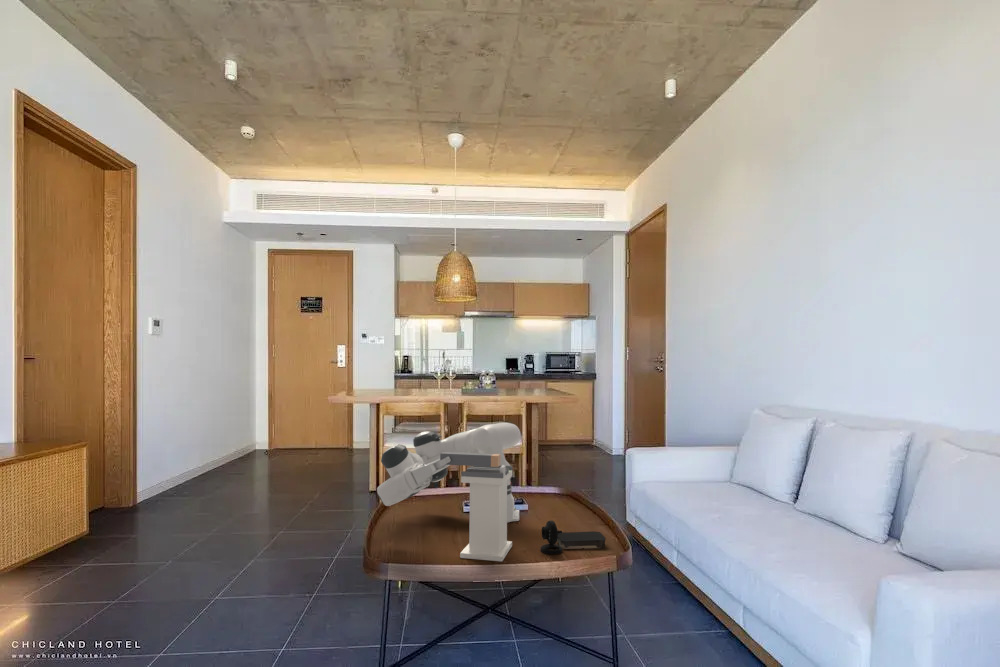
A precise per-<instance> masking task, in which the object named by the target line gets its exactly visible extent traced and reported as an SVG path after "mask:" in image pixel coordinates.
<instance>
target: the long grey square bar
mask: <svg viewBox="0 0 1000 667" xmlns="http://www.w3.org/2000/svg"><path fill="white" fill-rule="evenodd" d="M448 456H450V457H451V459H452V461H450V462H449V463H447V464H445V465H450V466H466V467H467V466H468V467H473V466H486V467H499V466H500V465H501V454H482V453H459V452H442V453H440V460H442V459H444V458H446V457H448Z"/></svg>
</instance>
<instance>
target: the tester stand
mask: <svg viewBox="0 0 1000 667" xmlns="http://www.w3.org/2000/svg"><path fill="white" fill-rule="evenodd" d="M460 475H461V476H460V481H461V482H460V483H462V484H465V483H466V484H469V531H468V532H469V534H468V535H469V536H468V537H469V539H468V540H469V543H468V544H466V546H465V547H464V548H463V550H461V552H460V554H459V557H460V559H468V560H469V559H471V560H481V561H492V562H503V561H504V559H505V558H506V556H507V555H508V553H509V551H510V550H511V548H512V547H513V541H510V540H508V522H507V480H508V479H509V478H510V479H511V478H512V476H513V465H510V466H505V465H500V466H499V467H486V466H468V467H467V468H466V471H465V470H462V471H461V474H460Z"/></svg>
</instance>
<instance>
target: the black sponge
mask: <svg viewBox="0 0 1000 667" xmlns="http://www.w3.org/2000/svg"><path fill="white" fill-rule="evenodd" d="M606 539H607V538H606V536H604V535H603V533H602V532H600V531H594V530H593V531H570V532H567V531H565V532H563V531H562V533H558V538H557V542H556V543H557V545H559V546H561V547H562V548H563V550H574V549H577V550H578V549H581V550H582V548H584V549H603V548H604V547H605V545H606Z"/></svg>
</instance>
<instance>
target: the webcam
mask: <svg viewBox="0 0 1000 667" xmlns="http://www.w3.org/2000/svg"><path fill="white" fill-rule="evenodd" d="M562 532H563V531H562V530H558V527H557V524H556V522H555V521H554V520H547V521H546V524H545V526H542V527H541V537H542V539H543V540H546V541H547V542H548V543H546V544H543V545H541V546H540V551H541V553H543V554H547V555H558V554H562V552H563V550H564V549H563V548H562V547H561V546H559V544H556V543H558V542H557V538H558V533H562Z"/></svg>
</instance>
